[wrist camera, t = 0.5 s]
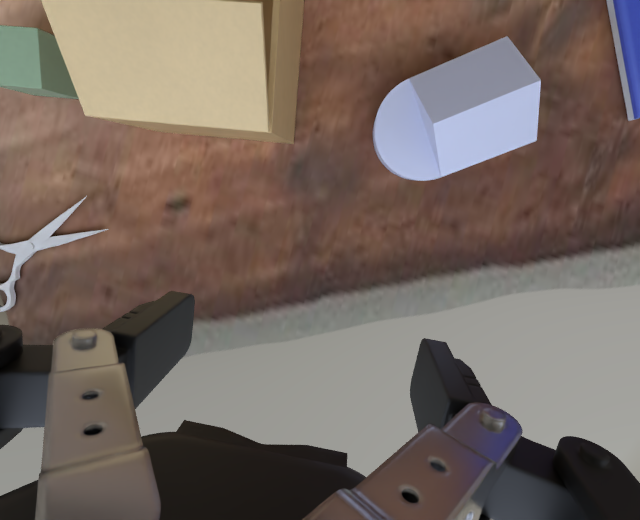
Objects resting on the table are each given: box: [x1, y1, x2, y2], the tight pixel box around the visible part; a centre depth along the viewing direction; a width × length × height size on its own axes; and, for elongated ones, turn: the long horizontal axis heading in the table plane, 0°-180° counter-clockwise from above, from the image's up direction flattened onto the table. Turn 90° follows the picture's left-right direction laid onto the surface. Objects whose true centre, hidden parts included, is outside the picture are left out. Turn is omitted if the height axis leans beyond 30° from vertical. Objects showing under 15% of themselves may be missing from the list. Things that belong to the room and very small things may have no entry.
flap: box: [41, 0, 270, 132], centre depth 26 cm, size 8×14×1 cm
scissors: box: [0, 196, 107, 312], centre depth 43 cm, size 11×1×20 cm
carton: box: [92, 0, 304, 144], centre depth 32 cm, size 16×14×10 cm
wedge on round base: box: [373, 36, 541, 181], centre depth 34 cm, size 9×7×13 cm
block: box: [0, 25, 79, 99], centre depth 37 cm, size 5×5×5 cm
